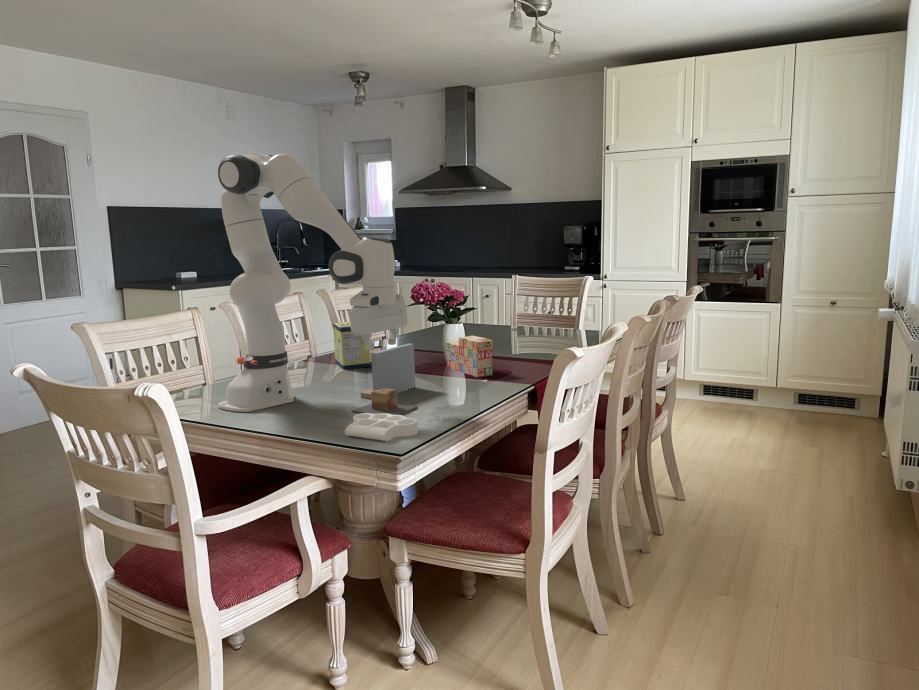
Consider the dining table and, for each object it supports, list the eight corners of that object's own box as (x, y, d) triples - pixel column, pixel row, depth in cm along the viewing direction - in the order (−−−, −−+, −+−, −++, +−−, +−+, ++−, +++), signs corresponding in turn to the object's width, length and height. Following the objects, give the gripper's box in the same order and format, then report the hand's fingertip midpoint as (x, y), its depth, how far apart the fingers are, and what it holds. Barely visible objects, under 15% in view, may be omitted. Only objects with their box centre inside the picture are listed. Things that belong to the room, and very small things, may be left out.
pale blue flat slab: (378, 400, 199) (376, 353, 196) (360, 397, 203) (358, 351, 200) (415, 387, 214) (413, 343, 211) (398, 385, 217) (396, 342, 215)
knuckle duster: (334, 437, 166) (369, 421, 178) (396, 446, 157) (427, 429, 170) (333, 424, 165) (368, 409, 178) (395, 432, 157) (427, 416, 170)
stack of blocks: (446, 367, 244) (445, 333, 242) (461, 365, 247) (460, 332, 245) (477, 377, 225) (476, 341, 223) (493, 375, 229) (492, 339, 226)
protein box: (361, 359, 262) (359, 320, 260) (371, 367, 248) (369, 325, 245) (334, 362, 259) (332, 322, 256) (343, 370, 244) (340, 327, 242)
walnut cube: (386, 411, 184) (385, 393, 183) (372, 409, 187) (371, 391, 186) (397, 407, 188) (396, 389, 187) (383, 405, 191) (382, 387, 190)
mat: (390, 418, 179) (390, 416, 179) (351, 412, 186) (351, 410, 186) (418, 408, 189) (417, 406, 188) (379, 402, 196) (379, 400, 196)
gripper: (394, 292, 192) (396, 340, 195) (345, 299, 175) (347, 352, 178) (412, 293, 189) (413, 342, 191) (363, 301, 172) (365, 354, 174)
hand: (381, 347), depth 184 cm, fingers open, 8 cm apart
